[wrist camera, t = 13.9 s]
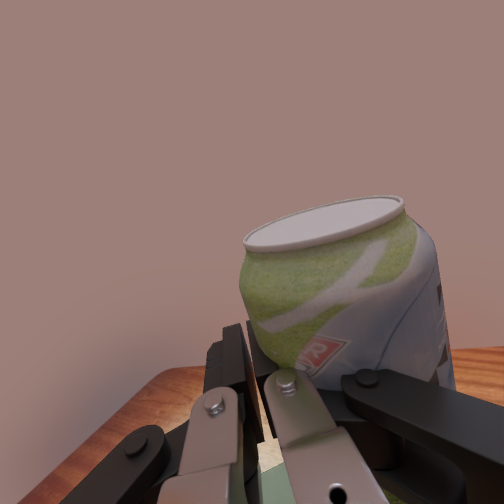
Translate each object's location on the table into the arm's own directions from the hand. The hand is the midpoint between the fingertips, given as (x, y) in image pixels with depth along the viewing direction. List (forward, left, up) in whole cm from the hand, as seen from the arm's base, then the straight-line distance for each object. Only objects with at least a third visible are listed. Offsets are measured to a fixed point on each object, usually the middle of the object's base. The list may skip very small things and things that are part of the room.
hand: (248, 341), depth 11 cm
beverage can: (+2, -2, -7) cm, 8 cm away
